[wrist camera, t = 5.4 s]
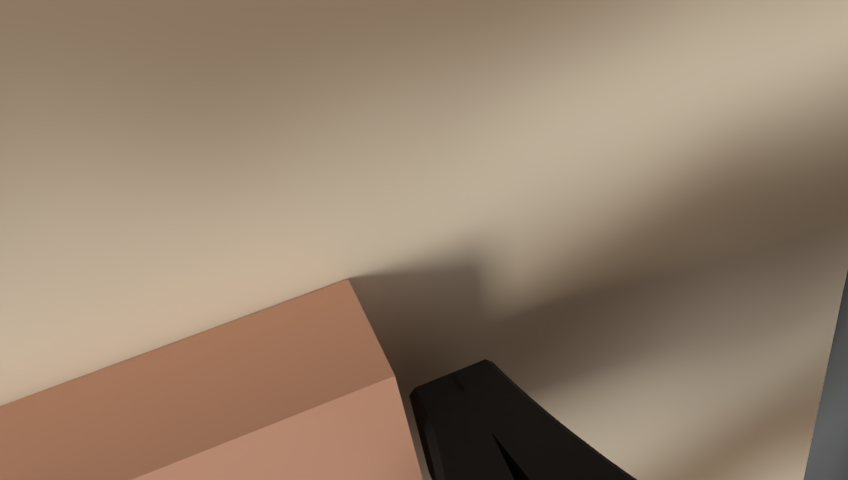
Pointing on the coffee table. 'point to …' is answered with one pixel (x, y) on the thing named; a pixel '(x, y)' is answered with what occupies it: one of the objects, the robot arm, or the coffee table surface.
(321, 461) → the terracotta tile
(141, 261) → the ash board
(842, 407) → the coffee table surface
